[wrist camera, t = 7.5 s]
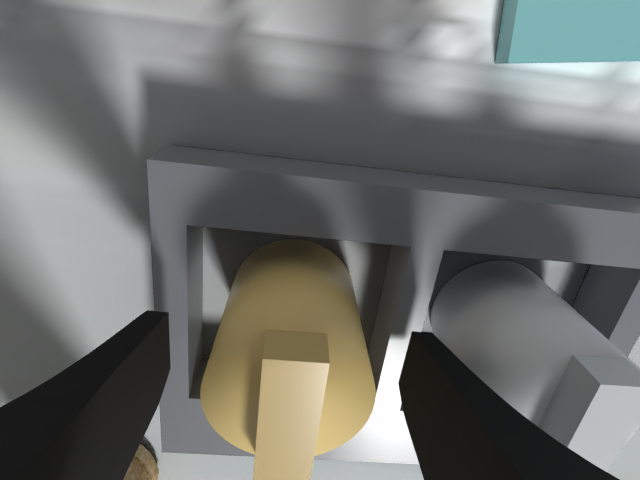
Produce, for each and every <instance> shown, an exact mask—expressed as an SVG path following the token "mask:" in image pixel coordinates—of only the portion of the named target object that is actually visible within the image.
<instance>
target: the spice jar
mask: <svg viewBox="0 0 640 480" xmlns="http://www.w3.org/2000/svg"><path fill="white" fill-rule="evenodd" d="M158 474H159V470H158V467H157V465H156V462H155V459H154V458H153V456H152V455H151V453H150V452H149V451H148V450H147V449H146V448H145V447H144V446H143V445H141V444H140V445H139V447H138V449H137V451H136V454H135V456H134V458H133V460H132V462H131V464H130V466H129V469H128V471H127V473H126V475H125V477H124V479H123V480H157V478H158Z"/></svg>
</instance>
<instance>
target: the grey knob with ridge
mask: <svg viewBox="0 0 640 480" xmlns="http://www.w3.org/2000/svg"><path fill="white" fill-rule="evenodd" d="M430 320H431V327H432V330H433V333H434V335H435V336H436V337H437V338H438V339H439V340H440V341H441V342H442V343H443V344H444V345H445V346H446V347H447V348H449V349H450V350H451V351H452V352H453V353H454V354H455V355H456V356H457V357H458V358H459V359H460V360H461V361H462V362H463V363H464V364H465V365H466V366H467V367H468V368H469V369H470V370H471V371H472V372H473V373H474V374H476V375H477V376H478V377H479V378H480V379H481V380H482V381H483V382H484V383H485V384H486V385H488V386H489V387H490V388H491V389H492V390H493V391H494V392H495V393H497V394H498V395H499V396H500V397H501V398H502V399H504V400H505V401H506V402H507V403H508V404H510V405H511V406H512V407H513V408H514V409H516V410H517V411H518V412H519V413H521V414H522V415H523V416H524V417H526V418H527V419H528V420H530V421H531V422H532V423H534V424H535V425H536V426H538V427H539V428H540V429H542V430H543V431H545V432H546V433H547V434H549V435H550V436H551V437H553V438H554V439H556V440H557V441H559V442H560V443H562V444H563V445H565V446H566V447H568V448H569V449H571V450H572V451H574V452H575V453H577V454H578V455H580V456H581V457H583V458H584V459H586V460H588V461H589V462H591V463H592V464H594V465H596V466H597V467H599V468H601V469H602V470H604V471H605V472H608V470H609V469H610V467H611V465H612V464H613V462H614V460H615V459H616V457H617V455H618V454H619V452H620V451H621V449H622V447H623V446H624V444H625V443H626V442H627V441H628V440H629V439H630V438H631V437H632V436H633V435H634V434H635V433H636V432H637V430H638V429H639V428H640V368H639V367H638V366H637V365H636V364H635V363H633V362H632V361H631V360H630V359H629V358H628V357H627V356H626V355H625V354H623V353H622V352H621V351H620V350H619V349H618V348H617V347H616V346H615V345H613V344H612V343H611V342H610V341H609V340H608V339H607V338H606V337H605V336H603V335H602V334H601V333H600V332H599V331H598V330H597V329H596V328H595V327H593V326H592V325H591V324H590V323H589V322H588V321H587V320H586V319H585V318H583V317H582V316H581V315H580V314H579V313H578V312H577V311H576V310H575V309H573V308H572V307H571V306H570V305H569V304H568V303H567V302H566V301H565V300H563V299H562V298H561V297H560V296H559V295H558V294H557V293H556V292H555V291H553V290H552V289H551V288H550V287H549V286H548V285H547V284H546V283H545V282H543V281H542V280H541V279H540V278H539V277H538V276H537V275H536V274H535V273H533V272H532V271H531V270H530V269H528V268H527V267H525V266H523V265H521V264H518V263H515V262H510V261H498V260H497V261H488V262H483V263H479V264H476V265H473V266H471V267H469V268H466V269H465V270H463V271H461V272H459V273H458V274H457V275H455V276H454V277H452V278H451V279H450V280H449V281H448V282H447V283H446V284H445V285H444V286H443V288H442V289H441V290H440V292H439V293H438V295H437V297H436V298H435V300H434V303H433V306H432V310H431V319H430Z"/></svg>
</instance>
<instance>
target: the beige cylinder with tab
mask: <svg viewBox="0 0 640 480" xmlns="http://www.w3.org/2000/svg"><path fill="white" fill-rule="evenodd" d="M200 397H201V405H202V408H203V412H204V414H205V416H206V418H207V420H208V422H209V423H210V425H211V426H212V427H213V429H214V430H215V431H216V432H217V433H218V434H219V435H220V436H221V437H223V438H224V439H225V440H226V441H228V442H229V443H231V444H232V445H234V446H236V447H238V448H240V449H241V450H244V451H246V452H249V453H251V454H255V461H254V474H253V480H310V479H311V473H312V467H313V461H314V456H316V455H320V454H323V453H326V452H328V451H331V450H333V449H335V448H337V447H339V446H341V445H343V444H344V443H346V442H347V441H349V440H350V439H351V438H353V437H354V436H355V435H356V434H357V433H358V432H359V431H360V430H361V429H362V428H363V426H364V425H365V424H366V422H367V421H368V419H369V417H370V415H371V413H372V410H373V407H374V404H375V397H376V389H375V383H374V378H373V373H372V369H371V364H370V360H369V356H368V351H367V347H366V342H365V338H364V333H363V329H362V324H361V320H360V315H359V311H358V307H357V302H356V298H355V293H354V289H353V284H352V280H351V277H350V274H349V272H348V270H347V268H346V266H345V265H344V263H343V262H342V261H341V260H340V259H339V258H338V257H337V256H336V255H335V254H334V253H333V252H331V251H330V250H329V249H327V248H325V247H323V246H321V245H319V244H316V243H313V242H310V241H305V240H298V239H288V240H280V241H275V242H272V243H269V244H266V245H264V246H262V247H260V248H259V249H257V250H255V251H254V252H253V253H251V254H250V255H249V256H248V257H247V258H246V259H245V260H244V261H243V263H242V264H241V266H240V267H239V269H238V271H237V273H236V275H235V279H234V282H233V285H232V288H231V291H230V294H229V297H228V301H227V304H226V307H225V310H224V313H223V316H222V319H221V323H220V326H219V329H218V332H217V335H216V338H215V341H214V345H213V348H212V351H211V354H210V357H209V360H208V363H207V367H206V370H205V373H204V376H203V380H202V383H201V391H200Z"/></svg>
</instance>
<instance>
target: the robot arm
mask: <svg viewBox="0 0 640 480" xmlns="http://www.w3.org/2000/svg"><path fill="white" fill-rule="evenodd" d="M170 368H171V365H170V338H169V312H159V311H146V312H144V313H143V314H141V315H140V316H139V317H137V318H136V319H135V320H133V321H132V322H131V323H129V324H128V325H127V326H126V327H124V328H123V329H122V330H120V331H119V332H118V333H116V334H115V335H114V336H112V337H111V338H110V339H108V340H107V341H106V342H104V343H103V344H101V345H100V346H99V347H97V348H96V349H95V350H93V351H92V352H90V353H89V354H88V355H86V356H85V357H83V358H82V359H80V360H79V361H77V362H76V363H74V364H73V365H71V366H70V367H68V368H67V369H65V370H64V371H62V372H61V373H59V374H58V375H56V376H54V377H53V378H51V379H50V380H48V381H46V382H45V383H43V384H41V385H40V386H38V387H36V388H35V389H33V390H31V391H29V392H27V393H26V394H24V395H22V396H20V397H19V398H17V399H15V400H13V401H11V402H9V403H8V404H6V405H4V406H2V407H0V480H123V479H124V477H125V475H126V473H127V471H128V469H129V466H130V464H131V462H132V460H133V458H134V456H135V454H136V451H137V449H138V447H139V445H140V443H141V441H142V439H143V437H144V434H145V432H146V430H147V428H148V426H149V424H150V422H151V419H152V417H153V415H154V413H155V411H156V409H157V406H158V404H159V402H160V399H161V396H162V393H163V390H164V387H165V384H166V381H167V378H168V375H169V372H170ZM398 384H399V390H400V396H401V402H402V407H403V412H404V417H405V420H406V423H407V427H408V430H409V433H410V436H411V440H412V443H413V446H414V449H415V452H416V455H417V459H418V462H419V465H420V468H421V471H422V474H423V477H424V480H619V479H617V478H616V477H614V476H612V475H610V474H609V473H607V472H605V471H604V470H602V469H601V468H599V467H597V466H596V465H594V464H592V463H591V462H589V461H588V460H586V459H584V458H583V457H581V456H580V455H578V454H577V453H575V452H574V451H572V450H571V449H569V448H568V447H566V446H565V445H563V444H562V443H560V442H559V441H557V440H556V439H554V438H553V437H551V436H550V435H549V434H547V433H546V432H545V431H543V430H542V429H540V428H539V427H538V426H536V425H535V424H534V423H532V422H531V421H530V420H528V419H527V418H526V417H524V416H523V415H522V414H521V413H519V412H518V411H517V410H516V409H514V408H513V407H512V406H511V405H510V404H508V403H507V402H506V401H505V400H504V399H502V398H501V397H500V396H499V395H498V394H497V393H495V392H494V391H493V390H492V389H491V388H490V387H489V386H488V385H486V384H485V383H484V382H483V381H482V380H481V379H480V378H479V377H478V376H477V375H476V374H474V373H473V372H472V371H471V370H470V369H469V368H468V367H467V366H466V365H465V364H464V363H463V362H462V361H461V360H460V359H459V358H458V357H457V356H456V355H455V354H454V353H453V352H452V351H451V350H450V349H449V348H447V347H446V346H445V345H444V344H443V343H442V342H441V341H440V340H439V339H438V338H437V337H436V336H435V335H434V334H433V333H430V332H417V331H412V333H411V337H410V341H409V344H408V348H407V352H406V356H405V359H404V363H403V367H402V371H401V375H400V378H399V382H398Z"/></svg>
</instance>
